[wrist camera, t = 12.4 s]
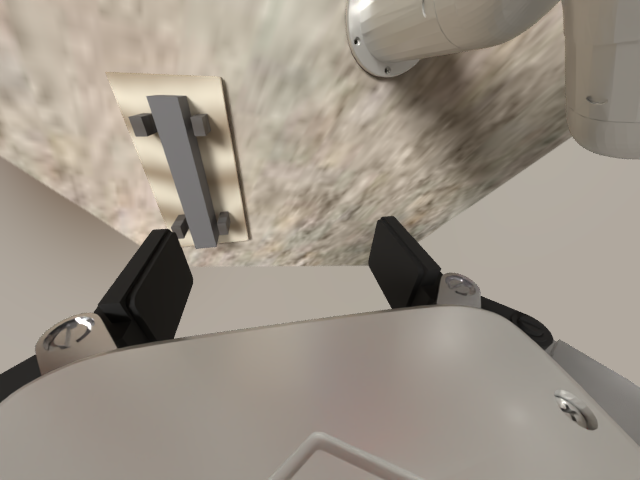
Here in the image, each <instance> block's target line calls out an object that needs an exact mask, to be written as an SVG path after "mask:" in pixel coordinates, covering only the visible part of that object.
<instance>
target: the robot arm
mask: <svg viewBox="0 0 640 480" xmlns="http://www.w3.org/2000/svg"><path fill="white" fill-rule="evenodd" d="M559 1H560V0H347V3H346V15H345V22H346V33H347V38H348V43H349V46H350V48H351V51H352V54H353V55H354V57H355V59H356V60H357V62H358V63H359V64H360V66H361V67H362V68H363V69H364V70H366V71H367V72H369V73H370V74H372V75H375V76H377V77H385V78H386V77H394V76H398V75H401V74H403V73H405V72H407V71H408V70H410V69H411V68H412V67H414V66H415V65H416V64H417V63H418V62H419V61H420V60H421V59H422V58H428V57H435V56H441V55H447V54H453V53H460V52H466V51H472V50H478V49H483V48H489V47H493V46H496V45H500V44H502V43H505V42H507V41H509V40H511V39H513V38H515V37H517V36H518V35H520V34H521V33H523V32H525V31H526V30H527V29H529V28H530V27H532V26H533V25H534V24H535V23H537V22H538V21H539V20H540V19H541V18H542V17H543V16H544V15H546V14H547V13H548V12H549V11H550V10H551V9H552V8H553V7H554V6H555V5H556V4H557V3H558V2H559ZM561 1H562V7H563V26H564V36H565V98H566V115H567V123H568V127H569V131H570V133H571V134H572V136H573V138H574V139H575V140H576V141H577V143H578V144H579V145H581V146H582V147H583V148H585V149H587V150H589V151H591V152H593V153H596V154H599V155H604V156H609V157H615V158H622V159H640V0H561ZM354 40H356V42H357V43H356V45H355V44H354ZM385 69H386V72H385ZM369 267H370V269H371V271H372V273H373V275H374V276H375V278H376V280H377V282H378V284H379V286H380V288H381V290H382V291H383V293H384V295H385V297H386V299H387V301H388V303H389V304H390V306H391V308H392V309H388V310H381V311H374V312H373V311H372V312H365V313H357V314H350V315H342V316H334V317H327V318H319V319H311V320H305V321H297V322H290V323H282V324H275V325H267V326H260V327H253V328H246V329H238V330H231V331H224V332H217V333H210V334H203V335H196V336H190V337H183V338H177V339H174V336H175V333H176V330H177V327H178V325H179V322H180V319H181V316H182V313H183V310H184V308H185V305H186V302H187V299H188V296H189V293H190V291H191V288H192V285H193V277H192V274H191V271H190V269H189V266H188V263H187V261H186V258H185V255H184V253H183V250H182V248H181V245H180V242H179V240H178V237H177V234H176V233H175V232H171V230H170V229H158V230H152V231H151V233H150V234H149V236H148V237H147V238H146V240H145V241H144V242H143V244H142V245H141V246H140V248H139V249H138V251H137V252H136V253H135V255H134V256H133V257H132V259H131V260H130V261H129V263H128V264H127V266H126V267H125V268H124V270H123V271H122V272H121V274H120V275H119V276H118V278H117V279H116V281H115V282H114V283H113V285H112V286H111V287H110V289H109V290H108V291H107V293H106V294H105V296H104V297H103V298H102V300H101V301H100V302H99V304H98V307H97V309H96V310H95V311H94V313H81V314H78V315H74V316H71V317H69V318H66V319H64V320H62V321H60V322H58V323H57V324H55V325H54V326H53V327H51V328H50V329H48V330H47V331H46V332H45V333H44V334H43V335H42V336H41V337H40V338H39V340H38V341H37V343H36V345H35V353H36V355H34V356H32V357H30V358H29V359H27V360H25V361H23V362H21V363H20V364H18V365H16V366H14V367H13V368H11V369H9V370H7V371H5V372H4V373H2V374H0V480H640V387H638V386H637V385H635V384H634V383H632V382H631V381H629V380H628V379H626V378H624V377H623V376H621V375H619V374H618V373H616V372H614V371H612V370H611V369H609V368H607V367H606V366H604V365H602V364H601V363H599V362H597V361H596V360H594V359H592V358H590V357H589V356H587V355H585V354H584V353H582V352H580V351H578V350H577V349H575V348H573V347H572V346H570V345H568V344H567V343H565V342H563V341H561V340H558V341H557V342H556V341H554V340H553V337H552V335H551V333H550V331H549V330H548V329H547V328H546V327H545V326H544V325H543V324H542V323H540V322H539V321H538V320H536V319H534V318H533V317H530V316H528V315H526V314H524V313H521V312H519V311H517V310H514V309H512V308H509V307H507V306H504V305H502V304H499V303H497V302H494V301H492V300H490V299H487V298H485V297H482V296H481V292H480V289H479V287H478V286H477V284H475V282H473V281H472V280H471V279H469V278H467V277H466V276H463V275H461V274H456V273H447V274H444V275H443V274H442V273H441V272H440V270H441V268H440V267H439V266H438V265H437V263H436V262H435V261H434V260H433V259H432V258H431V257H430V256H429V255H428V253H427V252H426V251H425V250H424V249H423V248H422V247H421V246H420V245H419V243H418V242H417V241H416V240H415V239H414V238H413V237H412V236H411V235H410V234H409V232H408V231H407V230H406V229H405V228H404V227H403V226H402V225H401V224H400V223H399V221H398V220H397V219H396V218H395V217H394V216H388V217H381V219H380V220H378V221H377V225H376V229H375V234H374V238H373V243H372V247H371V252H370V256H369Z"/></svg>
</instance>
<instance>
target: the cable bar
mask: <svg viewBox="0 0 640 480" xmlns="http://www.w3.org/2000/svg"><path fill="white" fill-rule="evenodd" d="M146 97H147V100H148V103H149V106H150V109H151V113H152V116H153V119H154V122H155V125H156V128H157V131H158V134H159V137H160V140H161V143H162V146H163V149H164V153H165V156H166V159H167V162H168V165H169V168H170V171H171V174H172V177H173V180H174V183H175V186H176V189H177V193H178V196H179V199H180V202H181V205H182V208H183V211H184V214H185V217H186V220H187V223H188V226H189V229H190V233H191V236H192V239H193V242H194V245H195V248H196V249H199V248H210V247H217V243H218V239H219V235H220V234H219V230H218V226H217V220H216V216H215V212H214V207H213V203H212V199H211V195H210V191H209V187H208V183H207V179H206V174H205V170H204V166H203V162H202V158H201V154H200V150H199V146H198V141H197V137H196V136H195V135H194V131H193V127H192V123H191V119H190V117H191V113H190V108H189V104H188V100H187V96H181V95H152V96H146Z"/></svg>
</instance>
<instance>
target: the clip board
mask: <svg viewBox="0 0 640 480" xmlns="http://www.w3.org/2000/svg"><path fill="white" fill-rule="evenodd" d="M105 73H106V75H107V78H108V80H109V83H110V85H111V88H112V90H113V93H114V95H115V98H116V100H117V103H118V106H119V108H120V111H121V113H122V116H123V118H124V121H125V123H126V126H127V128H128V131H129V133H130V136H131V138H132V141H133V143H134V146H135V148H136V151H137V154H138V156H139V159H140V161H141V164H142V166H143V169H144V171H145V174H146V176H147V179H148V181H149V184H150V186H151V189H152V191H153V194H154V196H155V199H156V201H157V204H158V207H159V209H160V212H161V214H162V217H163V219H164V222H165V224H166V227H167V229H170V230H171V232H175V233H176V234H177V237H178V240H179V242H180V245H181V247H185V246H195V245H194V242H193V239H192V236H191V233H190V229H189V226H188V223H187V220H186V217H185V214H184V211H183V208H182V205H181V202H180V199H179V196H178V193H177V189H176V186H175V183H174V180H173V177H172V174H171V171H170V168H169V165H168V162H167V159H166V156H165V153H164V149H163V146H162V143H161V140H160V137H159V134H158V131H157V128H156V125H155V122H154V119H153V116H152V113H151V109H150V106H149V103H148V100H147V97H146V96H152V95H181V96H187V100H188V104H189V108H190V113H191V117H190V119H191V123H192V127H193V131H194V135H195V136H196V137H197V141H198V146H199V150H200V154H201V158H202V162H203V166H204V170H205V174H206V179H207V183H208V187H209V191H210V195H211V199H212V203H213V207H214V212H215V216H216V220H217V226H218V230H219V234H220V235H219V239H218V243H226V242H237V241H247V240H248V231H247V226H246V220H245V214H244V208H243V202H242V196H241V191H240V185H239V179H238V173H237V167H236V161H235V156H234V150H233V144H232V138H231V132H230V126H229V121H228V115H227V109H226V103H225V97H224V91H223V86H222V80H221V77H216V76H191V75H167V74H143V73H118V72H105Z"/></svg>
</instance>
